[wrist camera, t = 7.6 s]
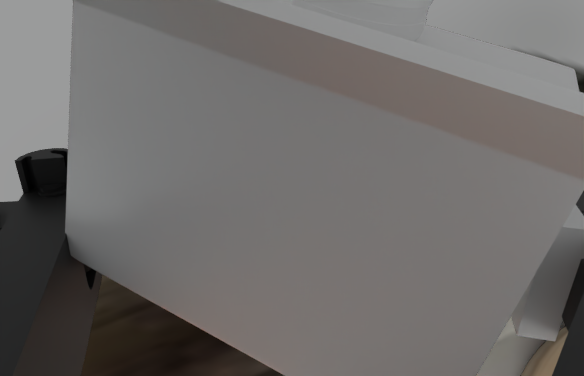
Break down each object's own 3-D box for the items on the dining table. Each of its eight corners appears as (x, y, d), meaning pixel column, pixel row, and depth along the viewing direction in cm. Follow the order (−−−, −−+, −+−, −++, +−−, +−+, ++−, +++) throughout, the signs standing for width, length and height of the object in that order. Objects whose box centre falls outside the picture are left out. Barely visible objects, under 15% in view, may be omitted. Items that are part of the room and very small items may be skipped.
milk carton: (386, 388, 21) (508, 586, 3) (249, 315, 23) (-169, 176, 5) (444, 245, 22) (741, -168, 5) (312, 189, 24) (169, -250, 7)
